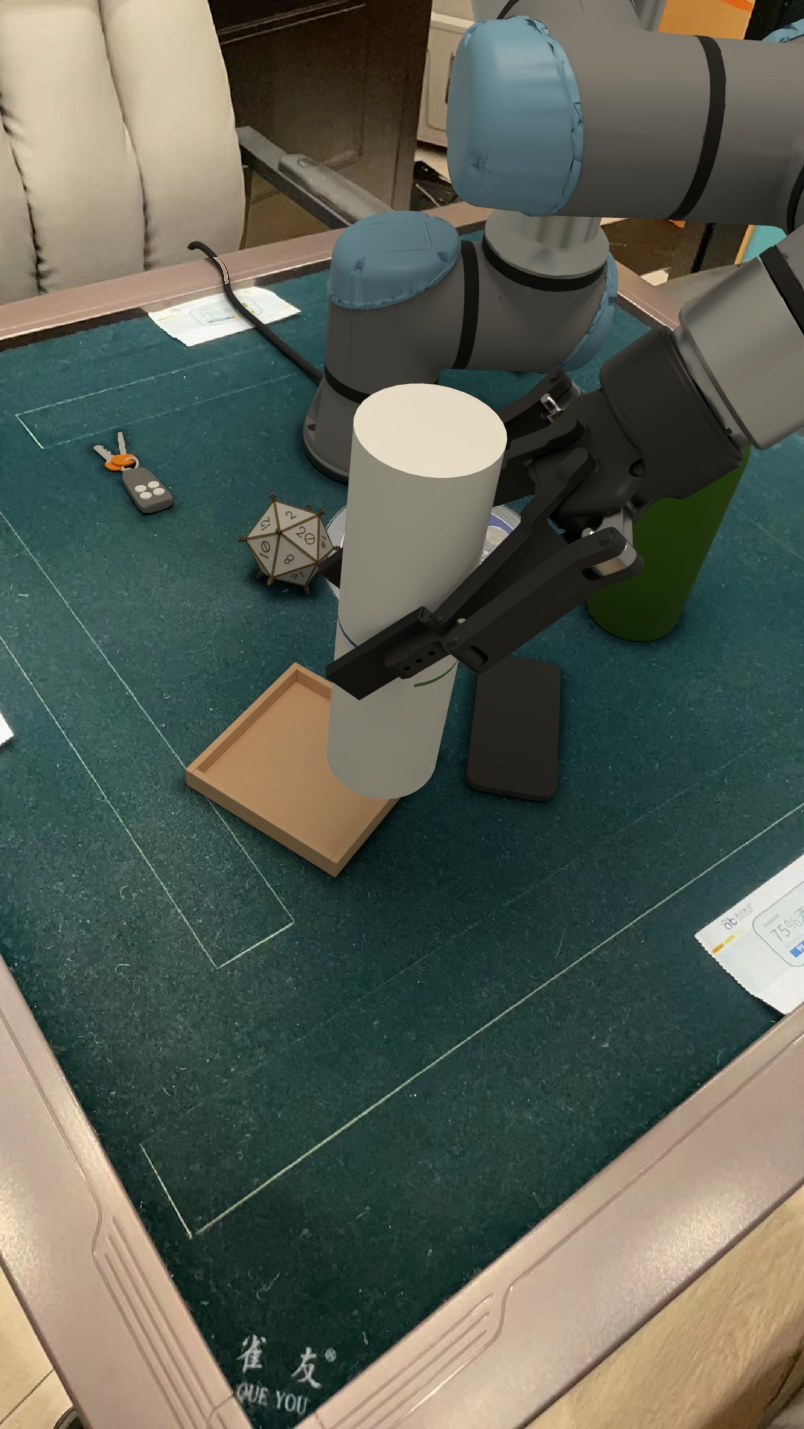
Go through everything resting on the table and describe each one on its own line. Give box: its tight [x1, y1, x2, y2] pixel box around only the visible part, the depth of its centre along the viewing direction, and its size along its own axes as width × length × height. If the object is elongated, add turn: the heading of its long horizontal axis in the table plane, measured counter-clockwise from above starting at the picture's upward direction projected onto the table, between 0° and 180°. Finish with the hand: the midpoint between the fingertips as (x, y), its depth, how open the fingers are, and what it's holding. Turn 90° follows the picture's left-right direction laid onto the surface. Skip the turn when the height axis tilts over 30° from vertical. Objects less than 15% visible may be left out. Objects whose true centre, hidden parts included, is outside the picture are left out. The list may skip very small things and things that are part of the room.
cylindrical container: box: [326, 384, 507, 799], centre depth 58 cm, size 7×7×25 cm
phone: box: [465, 655, 562, 802], centre depth 89 cm, size 7×1×15 cm
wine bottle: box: [586, 444, 752, 642], centre depth 88 cm, size 9×9×32 cm
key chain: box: [92, 431, 174, 514], centre depth 105 cm, size 13×4×2 cm, turn 34°
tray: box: [185, 661, 402, 878], centre depth 84 cm, size 14×14×2 cm
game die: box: [235, 491, 342, 596], centre depth 95 cm, size 9×8×10 cm
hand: (338, 630), depth 58 cm, fingers closed on cylindrical container, 7 cm apart
